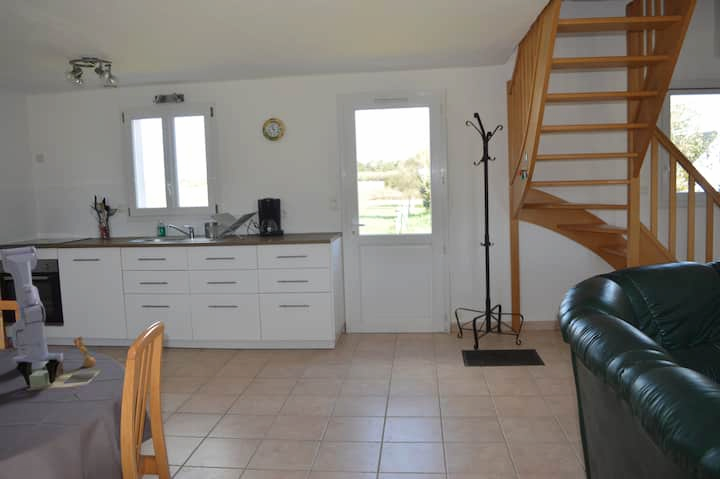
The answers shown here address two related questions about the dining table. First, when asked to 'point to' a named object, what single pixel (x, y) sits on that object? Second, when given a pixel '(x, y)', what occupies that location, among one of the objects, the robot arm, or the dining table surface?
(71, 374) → the baseplate
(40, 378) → the sage block
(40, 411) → the dining table surface
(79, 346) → the figurine
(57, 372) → the walnut block
